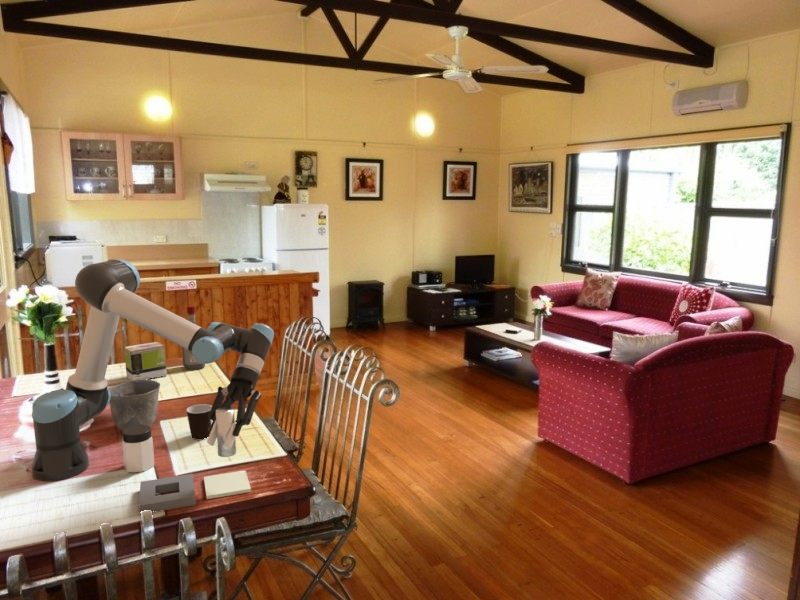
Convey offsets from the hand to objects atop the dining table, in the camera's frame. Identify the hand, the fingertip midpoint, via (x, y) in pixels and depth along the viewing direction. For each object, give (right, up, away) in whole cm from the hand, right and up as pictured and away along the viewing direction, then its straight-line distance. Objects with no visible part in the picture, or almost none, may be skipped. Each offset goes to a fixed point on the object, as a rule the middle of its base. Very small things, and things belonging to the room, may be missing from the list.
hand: (218, 445), depth 165 cm
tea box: (-65, +5, +105) cm, 124 cm away
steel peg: (+1, -3, +4) cm, 6 cm away
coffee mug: (-18, -7, +42) cm, 46 cm away
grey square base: (-14, -14, -1) cm, 20 cm away
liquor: (-49, +8, +120) cm, 130 cm away
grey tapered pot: (-44, -5, +48) cm, 65 cm away
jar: (-30, -11, +17) cm, 36 cm away
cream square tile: (0, -13, +6) cm, 15 cm away
